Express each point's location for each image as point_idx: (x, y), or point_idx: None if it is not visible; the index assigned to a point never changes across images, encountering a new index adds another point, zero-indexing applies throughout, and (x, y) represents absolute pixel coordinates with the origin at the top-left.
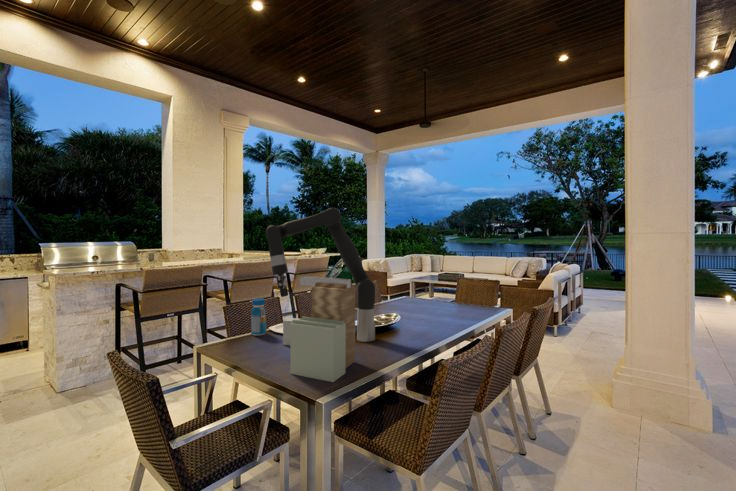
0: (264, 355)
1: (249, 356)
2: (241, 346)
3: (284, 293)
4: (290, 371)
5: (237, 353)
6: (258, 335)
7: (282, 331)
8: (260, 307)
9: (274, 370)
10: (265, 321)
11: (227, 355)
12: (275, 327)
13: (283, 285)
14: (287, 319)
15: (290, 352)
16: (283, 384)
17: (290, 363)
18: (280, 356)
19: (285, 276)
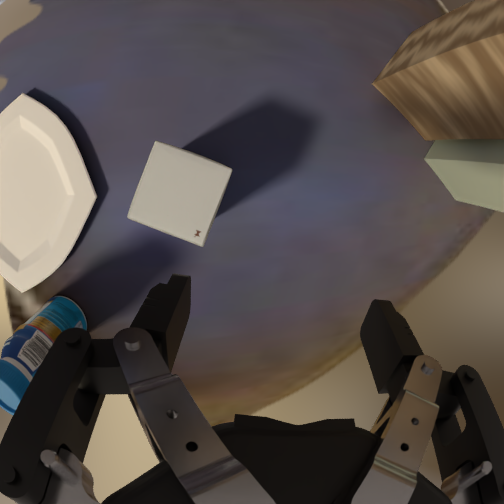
0: (316, 277)
1: (313, 318)
2: (204, 356)
3: (395, 321)
4: (459, 200)
5: (275, 354)
6: (85, 318)
7: (60, 237)
8: (30, 371)
9: (431, 237)
10: (45, 318)
11: (287, 373)
12: (14, 267)
13: (436, 391)
14: (169, 223)
15: (491, 208)
16: (486, 217)
17: (471, 203)
18: (339, 225)
19: (14, 485)
